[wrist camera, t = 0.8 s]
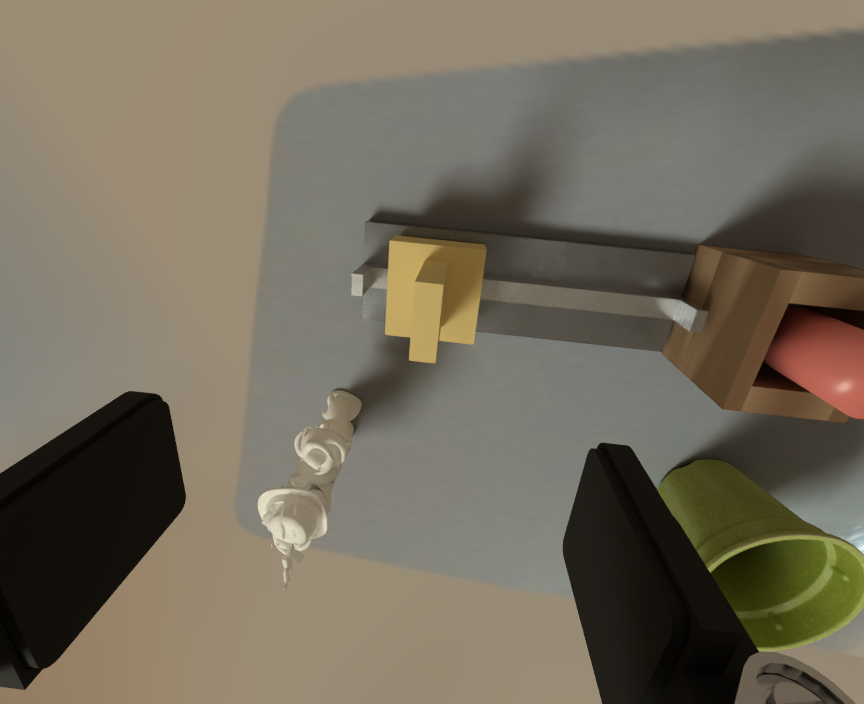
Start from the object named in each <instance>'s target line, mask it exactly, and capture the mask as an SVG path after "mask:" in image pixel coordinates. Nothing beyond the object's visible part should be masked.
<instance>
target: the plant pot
mask: <svg viewBox="0 0 864 704" xmlns="http://www.w3.org/2000/svg"><path fill="white" fill-rule="evenodd" d="M658 492H659V494H660V496H661V497H662V499H663V500H664V502H665V504H666V505H667V507H668V508H669V510H670V512H671V513H672V515H673V516H674V517H675V518H676V520H677V521H678V522H679V523H680V525H681V527H682V528H683V530H684V531H685V533H686V535H687V536H688V538H689V539H690V541H691V543H692V544H693V546H694V548H695V549H696V551H697V552H698V554H699V556H700V557H701V559H702V560H703V562H704V564H705V565H706V567H707V568H708V570H709V572H710V573H711V575H712V577H713V578H714V580H715V581H716V583H717V585H718V586H719V588H720V589H721V591H722V593H723V594H724V596H725V597H726V599H727V601H728V602H729V604H730V606H731V607H732V609H733V610H734V612H735V614H736V615H737V617H738V618H739V620H740V622H741V623H742V625H743V626H744V628H745V630H746V631H747V633H748V635H749V636H750V638H751V639H752V641H753V643H754V644H755V646H756V647H757V649H758V651H779V650H785V649H790V648H796V647H800V646H803V645H807V644H810V643H812V642H815V641H818V640H821V639H823V638H825V637H827V636H829V635H831V634H832V633H834V632H836V631H837V630H839V629H841V628H842V627H844V626H845V625H847V624H848V623H849V622H850V621H851V620H853V618H854V617H856V616H857V615H858V614H859V613H860V611H861V610H862V609H863V608H864V554H863V553H862V552H861V551H859V550H858V549H857V548H856V547H855V546H853V545H852V544H850V543H849V542H847V541H845V540H843V539H841V538H839V537H836V536H834V535H830V534H827V533H825V532H824V531H822V530H821V529H819V528H818V527H816V526H814V525H812V524H809V523H807V522H805V521H803V520H802V519H801V518H799V517H798V516H797V515H795V514H794V513H793V512H792V511H790V510H789V509H788V508H786V507H785V506H784V505H783V504H781V503H780V502H779V501H777V500H776V499H775V498H774V497H772V496H771V495H770V494H769V493H767V492H766V491H765V490H763V489H762V488H761V487H760V486H758V485H757V484H756V483H755V482H753V481H752V480H751V479H750V478H748V477H747V476H746V475H745V474H743V473H742V472H741V471H739V470H738V469H737V468H736V467H734V466H733V465H731V464H729V463H727V462H724V461H721V460H715V459H700V460H695V461H694V462H692V463H691V464H690V465H688V466H685V467H682V468H678V469H674V470H673V471H671V472H670V473H669V474H668V475H667V476H666V477H665V478H664V480H663V481H662V483H661V484H660V486H659V489H658Z"/></svg>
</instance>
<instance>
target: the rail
mask: <svg viewBox="0 0 864 704" xmlns="http://www.w3.org/2000/svg"><path fill="white" fill-rule="evenodd" d="M395 235H397V236H407V237H417V238H427V239H436V240H446V241H456V242H466V243H475V244H485V246H486V250H487V252H486V259H485V266H484V274H483V281H482V288H481V295H480V302H479V309H478V317H477V324H476V332H486V333H495V334H504V335H513V336H522V337H531V338H540V339H549V340H559V341H568V342H577V343H586V344H595V345H604V346H613V347H623V348H632V349H641V350H650V351H659V352H663V350H664V347H665V344H666V341H667V338H668V336H669V333H670V330H671V327H672V324H673V321H675V322H677V323H678V324H680V325H681V326H682V327H684V328H685V329H687V330H688V331H690V332H698V333H701V331H702V329H703V326H704V323H705V321H706V318H707V315H708V312H709V311H707V310H705V309H703V308H702V307H700V306H698V305H696V304H695V303H693V302H691V301H689V300H687V299H686V298H684V297H682V294H683V291H684V288H685V285H686V282H687V279H688V276H689V273H690V270H691V267H692V264H693V261H694V258H695V255H693V254H690V253H687V252H677V251H668V250H658V249H648V248H638V247H628V246H618V245H609V244H599V243H589V242H579V241H569V240H559V239H550V238H540V237H530V236H520V235H510V234H501V233H491V232H481V231H471V230H461V229H451V228H442V227H432V226H422V225H412V224H402V223H392V222H383V221H373V220H368V221H366V222H365V253H364V264H362V265H361V266H360V267H359V268H358V269H357V270H356V271H354V272H353V273H352V295H355V296H363V319H367V320H376V321H385V322H386V303H387V282H388V261H389V241H390V240H391V239H392V238H393V237H394V236H395Z"/></svg>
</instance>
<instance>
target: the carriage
mask: <svg viewBox="0 0 864 704" xmlns="http://www.w3.org/2000/svg"><path fill="white" fill-rule="evenodd" d="M486 252H487V250H486V246H485V244H475V243H466V242H456V241H446V240H436V239H427V238H417V237H407V236H397V235H395V236H394V237H393V238H392V239H391V240H390V241H389V261H388V282H387V303H386V324H385V335H391V336H400V337H409V338H411V339H410V352H409V361H418V362H427V363H435V364H436V357H437V351H438V344H439V341H446V342H455V343H464V344H473V345H474V338H475V331H476V324H477V317H478V309H479V302H480V295H481V288H482V281H483V274H484V266H485V259H486Z"/></svg>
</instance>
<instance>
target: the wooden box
mask: <svg viewBox="0 0 864 704" xmlns="http://www.w3.org/2000/svg"><path fill="white" fill-rule="evenodd" d="M682 297H684V298H686V299H687V300H689V301H691V302H693V303H695V304H696V305H698V306H700V307H702V308H703V309H705V310H707V311H709V312H708V315H707V318H706V321H705V323H704V326H703V329H702V331H701V333H698V332H690V331H688V330H687V329H685V328H684V327H682V326H681V325H680V324H678V323H677V322H675V321H673V324H672V327H671V330H670V333H669V336H668V338H667V341H666V344H665V347H664V350H663V352H662V355H664V356H665V357H666V358H667V359H668V360H669V361H670V362H671V363H672V364H673V365H675V366H676V367H677V368H678V369H679V370H680V371H681V372H682V373H683V374H684V375H686V376H687V377H688V378H689V379H690V380H691V381H692V382H693V383H694V384H695V385H696V386H698V387H699V388H700V389H701V390H702V391H703V392H704V393H705V394H706V395H707V396H709V397H710V398H711V399H712V400H713V401H714V402H715V403H716V404H717V405H718V406H720V407H721V408H722V409H726V410H735V411H743V412H752V413H761V414H770V415H779V416H788V417H796V418H805V419H814V420H823V421H832V422H841V423H846V422H847V420H848V418H849V417H850V416H848V415H846V414H844V413H843V412H841V411H840V410H838V409H836V408H835V407H833V406H832V405H830V404H828V403H827V402H825V401H824V400H822V399H821V398H819V397H817V396H816V395H814V394H813V393H811V392H809V391H808V390H806V389H805V388H803V387H801V386H800V385H798V384H797V383H795V382H794V381H792V380H790V379H789V378H787V377H786V376H784V375H782V374H781V373H779V372H778V371H776V370H774V369H773V368H771V367H770V366H768V365H767V364H765V363H763V360H764V358H765V355H766V353H767V351H768V349H769V346H770V344H771V342H772V340H773V337H774V335H775V333H776V331H777V328H778V326H779V324H780V322H781V319H782V317H783V315H784V313H785V310H787V309H791V308H808V309H811V310H814V311H817V312H819V313H822V314H824V315H827V316H829V317H832V318H835V319H837V320H840V321H842V322H845V323H847V324H850V325H853V326H855V327H858V328H860V329H863V330H864V270H862V269H858V268H854V267H850V266H846V265H841V264H837V263H833V262H829V261H825V260H821V259H816V258H812V257H808V256H804V255H795V254H785V253H775V252H765V251H755V250H745V249H736V248H726V247H716V246H706V245H698V247H697V250H696V253H695V258H694V261H693V264H692V267H691V270H690V273H689V276H688V279H687V282H686V285H685V288H684V291H683V294H682Z"/></svg>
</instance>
